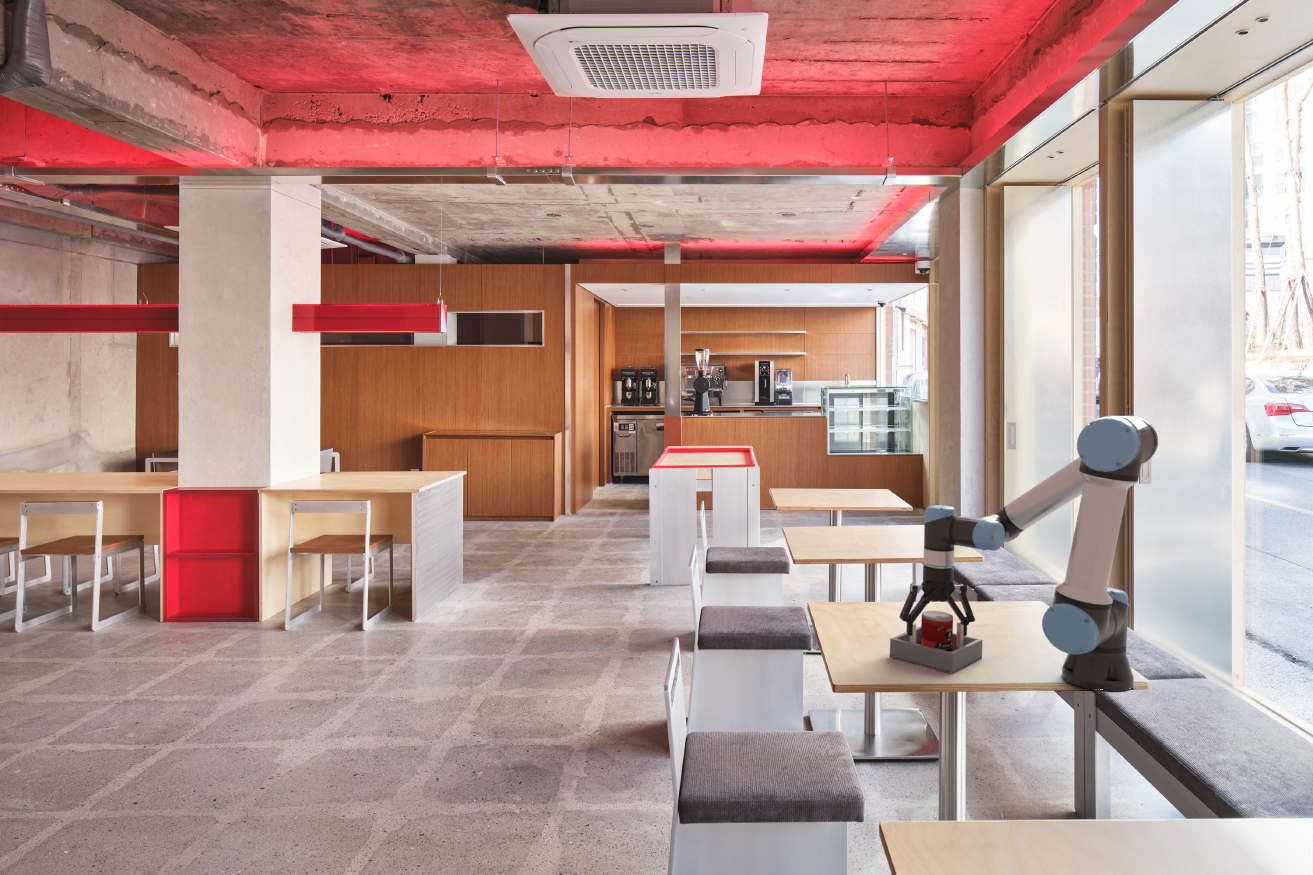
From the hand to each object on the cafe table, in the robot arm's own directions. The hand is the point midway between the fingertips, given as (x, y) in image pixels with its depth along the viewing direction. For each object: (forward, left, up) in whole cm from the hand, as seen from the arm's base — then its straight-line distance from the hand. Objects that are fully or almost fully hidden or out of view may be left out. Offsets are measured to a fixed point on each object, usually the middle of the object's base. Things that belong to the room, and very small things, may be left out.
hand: (936, 647), depth 210 cm
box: (0, 0, -3) cm, 3 cm away
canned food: (0, 0, -2) cm, 2 cm away
